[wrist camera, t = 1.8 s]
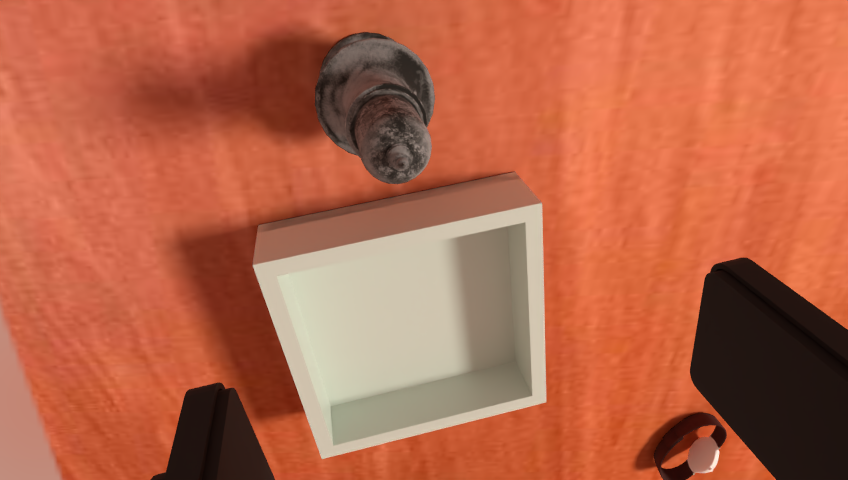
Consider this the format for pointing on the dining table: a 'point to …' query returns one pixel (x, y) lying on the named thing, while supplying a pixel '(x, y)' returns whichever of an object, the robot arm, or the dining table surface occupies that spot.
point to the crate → (410, 310)
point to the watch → (700, 452)
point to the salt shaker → (377, 105)
